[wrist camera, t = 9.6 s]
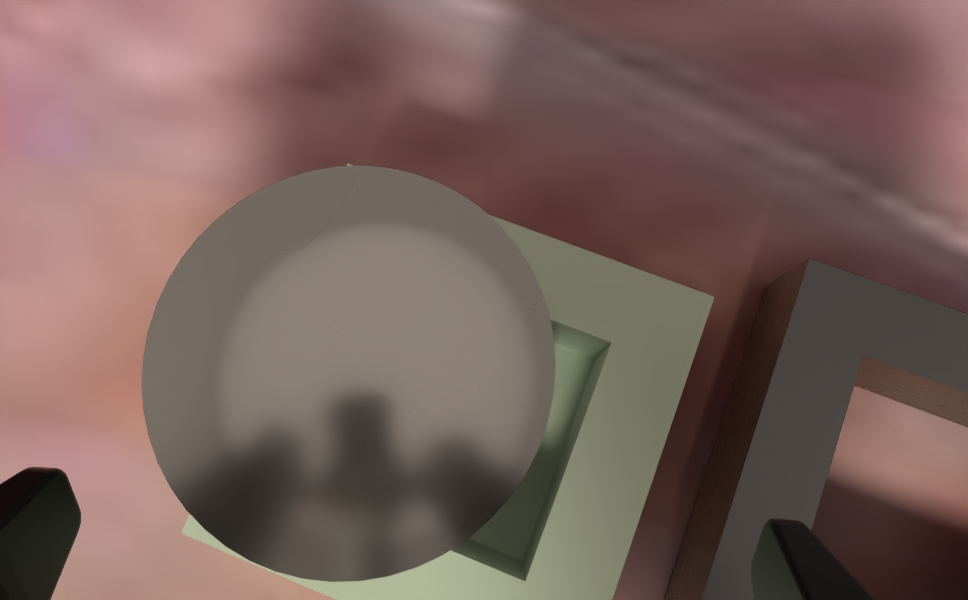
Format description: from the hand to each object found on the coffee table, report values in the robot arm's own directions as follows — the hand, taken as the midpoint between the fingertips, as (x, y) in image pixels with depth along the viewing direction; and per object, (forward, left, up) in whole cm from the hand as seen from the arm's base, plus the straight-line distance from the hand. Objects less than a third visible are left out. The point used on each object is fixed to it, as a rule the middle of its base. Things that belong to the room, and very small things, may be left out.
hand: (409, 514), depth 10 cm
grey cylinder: (+1, 0, -9) cm, 10 cm away
